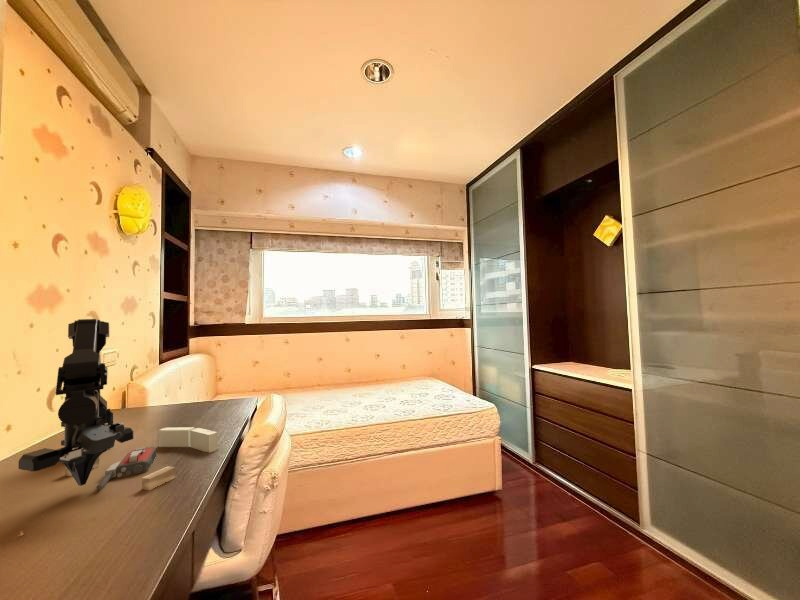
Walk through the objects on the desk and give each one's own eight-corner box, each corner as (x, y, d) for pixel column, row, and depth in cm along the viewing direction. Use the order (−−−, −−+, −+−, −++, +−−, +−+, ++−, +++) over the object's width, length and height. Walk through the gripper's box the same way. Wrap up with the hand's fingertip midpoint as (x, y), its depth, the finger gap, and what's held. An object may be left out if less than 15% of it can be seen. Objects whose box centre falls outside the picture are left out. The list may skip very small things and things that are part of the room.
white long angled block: (157, 446, 103) (157, 430, 103) (171, 441, 107) (171, 425, 107) (210, 452, 96) (210, 435, 96) (223, 446, 100) (223, 429, 100)
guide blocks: (64, 475, 85) (65, 465, 85) (93, 465, 91) (93, 455, 91) (149, 490, 75) (149, 478, 76) (175, 477, 81) (175, 467, 81)
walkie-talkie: (119, 462, 93) (92, 495, 75) (119, 446, 93) (92, 475, 75) (158, 455, 97) (141, 485, 79) (158, 439, 97) (141, 466, 79)
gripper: (50, 431, 66) (49, 513, 65) (148, 405, 83) (149, 470, 82) (17, 427, 69) (16, 505, 68) (118, 404, 87) (118, 465, 86)
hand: (82, 484), depth 76 cm, fingers closed
